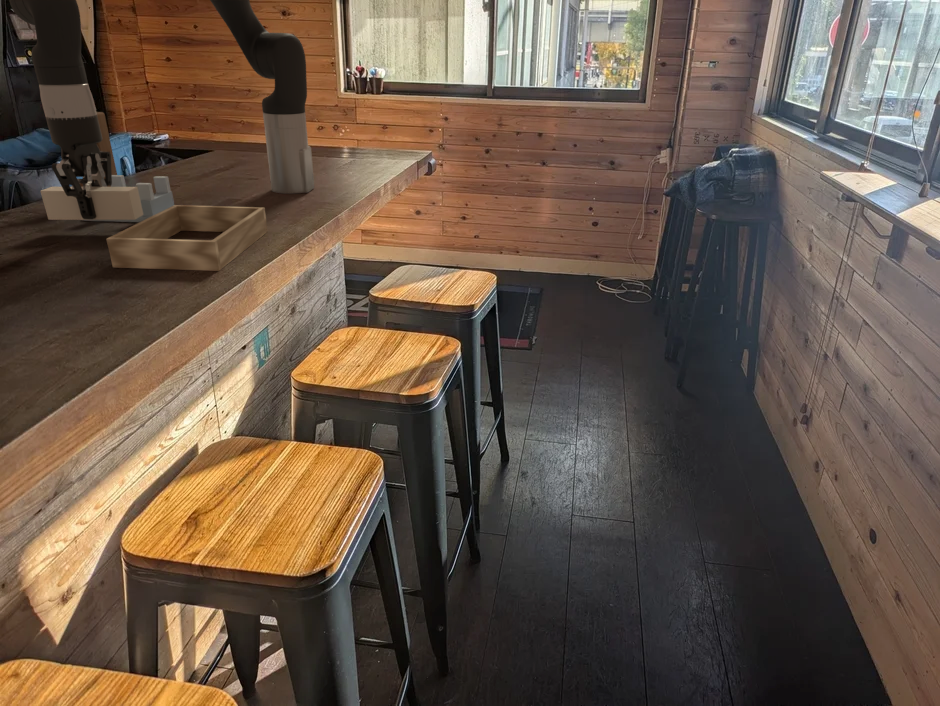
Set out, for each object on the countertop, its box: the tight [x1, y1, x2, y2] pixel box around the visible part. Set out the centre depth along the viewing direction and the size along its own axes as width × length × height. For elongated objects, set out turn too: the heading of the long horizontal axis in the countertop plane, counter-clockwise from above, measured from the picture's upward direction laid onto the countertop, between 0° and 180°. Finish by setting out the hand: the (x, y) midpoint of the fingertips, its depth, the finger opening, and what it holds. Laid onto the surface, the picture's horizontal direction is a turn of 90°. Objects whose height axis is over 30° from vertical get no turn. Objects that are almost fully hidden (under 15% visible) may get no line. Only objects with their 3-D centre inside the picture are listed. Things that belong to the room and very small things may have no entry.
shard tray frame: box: [105, 204, 268, 272], centre depth 109 cm, size 17×23×4 cm
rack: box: [82, 174, 175, 223], centre depth 127 cm, size 16×10×7 cm, turn 87°
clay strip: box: [40, 186, 143, 221], centre depth 114 cm, size 15×4×5 cm, turn 92°
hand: (96, 215), depth 115 cm, fingers closed on clay strip, 3 cm apart
